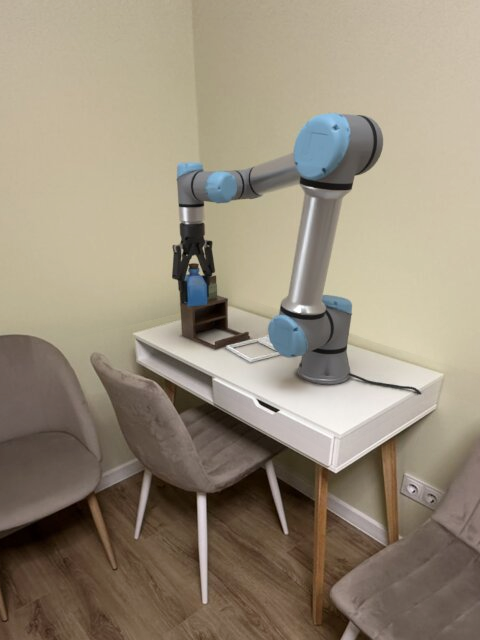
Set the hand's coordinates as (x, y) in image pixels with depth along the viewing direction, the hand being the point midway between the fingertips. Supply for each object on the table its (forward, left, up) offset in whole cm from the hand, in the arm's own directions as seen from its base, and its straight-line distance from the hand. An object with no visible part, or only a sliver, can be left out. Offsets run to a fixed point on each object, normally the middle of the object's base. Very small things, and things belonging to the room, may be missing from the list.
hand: (195, 298), depth 152 cm
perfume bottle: (0, 0, -2) cm, 2 cm away
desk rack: (+5, -12, -17) cm, 22 cm away
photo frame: (-15, -15, -17) cm, 27 cm away
